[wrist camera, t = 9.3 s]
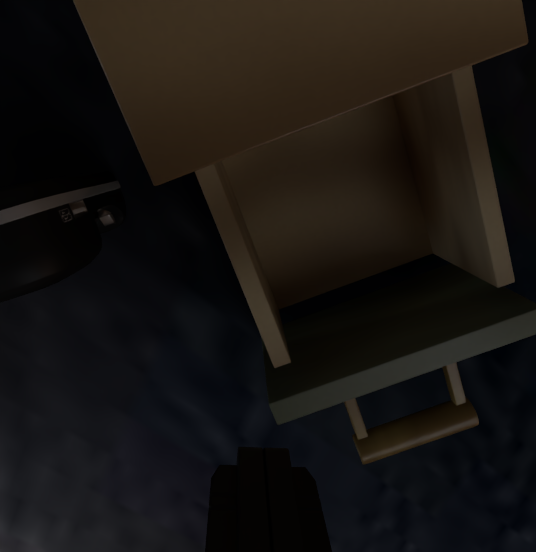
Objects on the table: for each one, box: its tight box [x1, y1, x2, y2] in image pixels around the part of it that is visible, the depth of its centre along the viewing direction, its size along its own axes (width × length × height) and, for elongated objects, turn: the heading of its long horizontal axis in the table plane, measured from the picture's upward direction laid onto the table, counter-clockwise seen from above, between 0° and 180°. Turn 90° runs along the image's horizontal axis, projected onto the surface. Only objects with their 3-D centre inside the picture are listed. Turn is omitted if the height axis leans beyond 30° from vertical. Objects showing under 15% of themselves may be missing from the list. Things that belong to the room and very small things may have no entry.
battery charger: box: [0, 171, 126, 303], centre depth 19 cm, size 7×4×11 cm, turn 108°
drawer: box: [195, 66, 536, 465], centre depth 21 cm, size 22×13×8 cm, turn 20°
